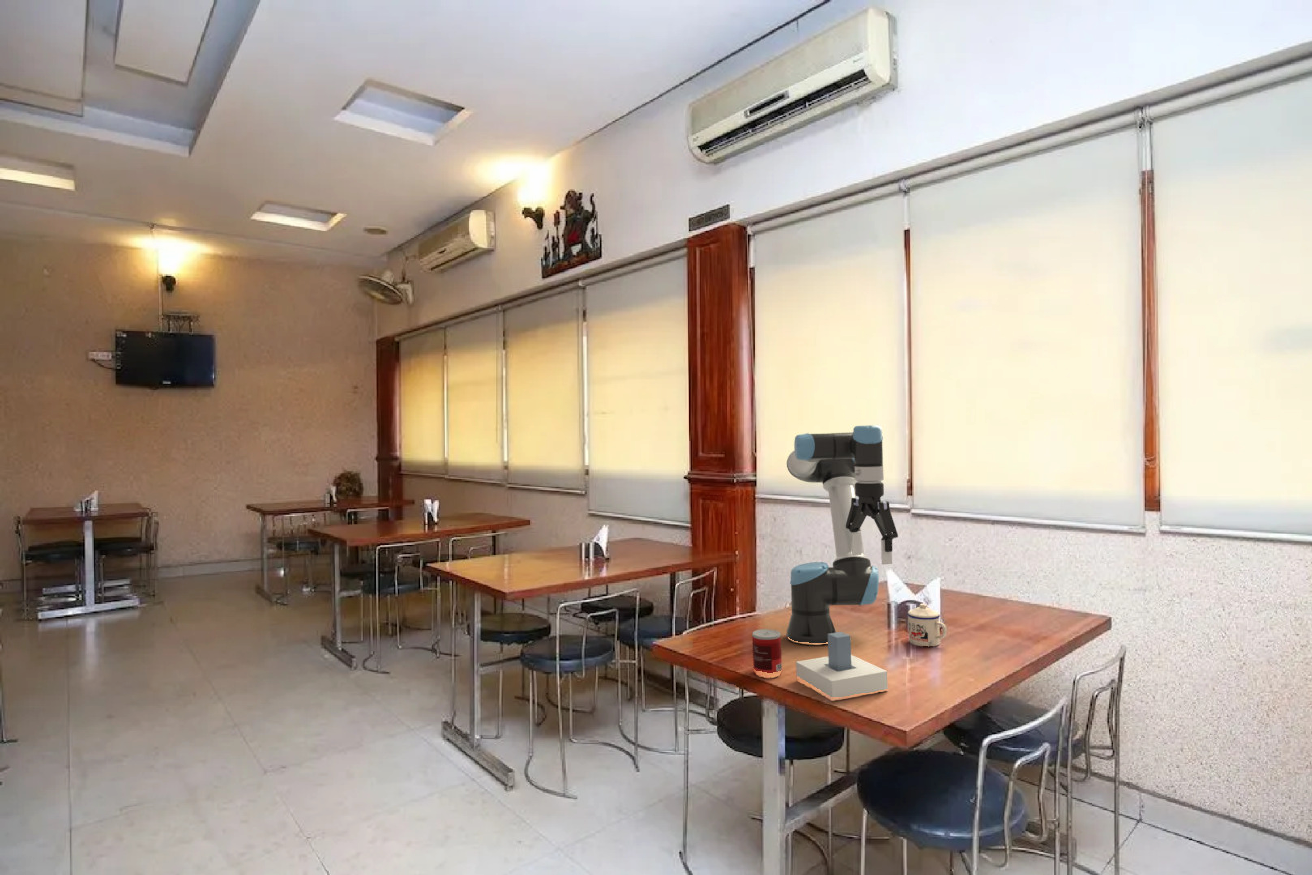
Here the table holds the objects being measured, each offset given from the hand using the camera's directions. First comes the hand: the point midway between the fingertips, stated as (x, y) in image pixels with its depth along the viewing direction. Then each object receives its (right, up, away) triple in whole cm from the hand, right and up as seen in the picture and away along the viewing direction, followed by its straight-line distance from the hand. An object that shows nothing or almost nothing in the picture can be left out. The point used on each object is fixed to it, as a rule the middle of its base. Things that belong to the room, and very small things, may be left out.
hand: (871, 559), depth 188 cm
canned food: (-29, -31, -3) cm, 42 cm away
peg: (-12, -30, -14) cm, 35 cm away
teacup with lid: (+23, -29, +19) cm, 41 cm away
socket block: (-12, -30, -14) cm, 35 cm away
